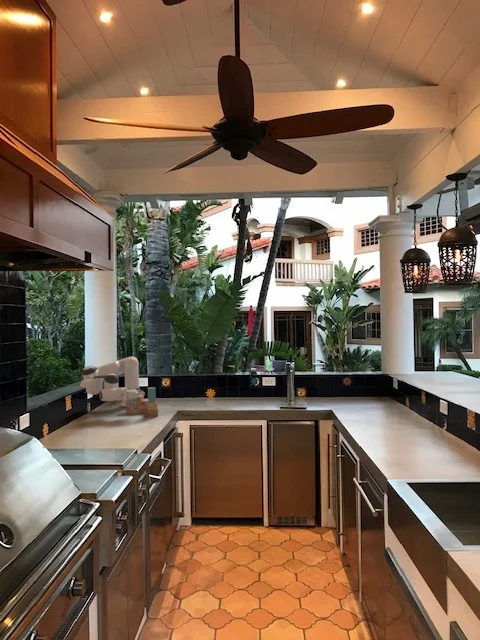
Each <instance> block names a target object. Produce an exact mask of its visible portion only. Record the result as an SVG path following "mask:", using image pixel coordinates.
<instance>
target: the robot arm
mask: <svg viewBox="0 0 480 640" xmlns="http://www.w3.org/2000/svg"><path fill="white" fill-rule="evenodd" d="M139 366H140V363H139V360H138V358H137V357H135V356H128V357H125V358H121V359H117V360H115V361H113V362H109V363H106V364H103V365H100V366H98V367H96V366H94V365H87V366H84V367H83V368H82V370H81V374H82V378H83V380H81V381H80V384H79V387H80V386H81V387H85V388H86V392H87V393H86V392H85V393H86V394H88V395H95V396H96V395H98V394H99V399H100V401H102V402H115V401H121V404H120V407H125V408H126V400H127V399H132V398H138V396H141V395H144V396H145V395H146V393H145V391H144V390H141V388H140V374H139V373H140V371H139V369H140V367H139ZM122 374H124V387H123V386H122V387H119V381H120V379H119V376H120V375H122ZM103 384H104V385H103ZM103 386H104V387H103Z"/></svg>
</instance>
